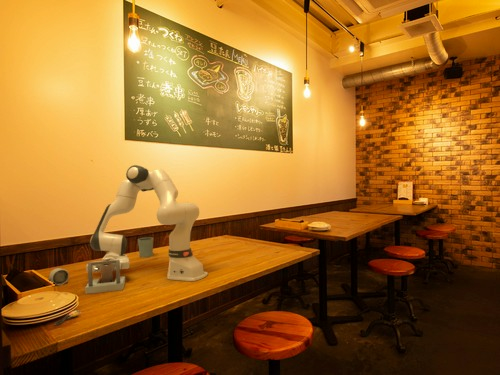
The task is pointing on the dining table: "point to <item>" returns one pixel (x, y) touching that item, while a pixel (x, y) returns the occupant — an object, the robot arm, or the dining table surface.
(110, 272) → the sake bottle
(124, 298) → the dining table surface
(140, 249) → the grey tapered bin
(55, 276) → the ceramic mug
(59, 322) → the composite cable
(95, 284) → the grey frame stand
